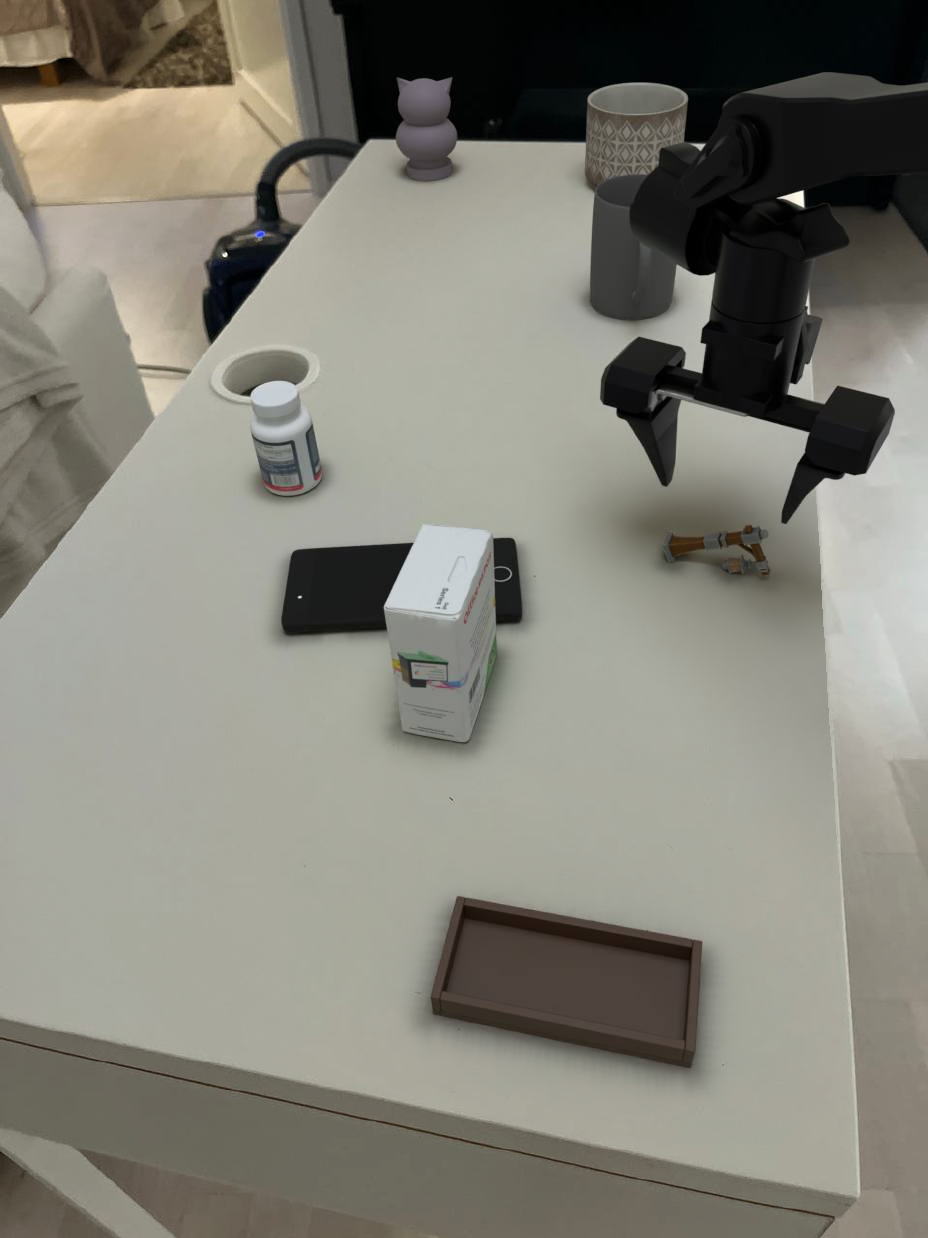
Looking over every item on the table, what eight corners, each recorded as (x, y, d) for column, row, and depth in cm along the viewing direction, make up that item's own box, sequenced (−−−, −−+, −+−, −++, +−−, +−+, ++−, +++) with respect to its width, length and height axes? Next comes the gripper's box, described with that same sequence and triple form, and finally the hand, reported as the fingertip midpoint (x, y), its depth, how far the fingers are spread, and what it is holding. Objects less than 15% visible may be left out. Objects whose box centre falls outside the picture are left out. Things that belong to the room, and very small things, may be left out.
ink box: (434, 643, 72) (421, 517, 64) (499, 654, 71) (495, 527, 63) (398, 732, 66) (379, 606, 58) (469, 745, 65) (460, 618, 57)
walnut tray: (698, 958, 54) (702, 940, 52) (690, 1068, 50) (695, 1052, 48) (458, 913, 57) (456, 895, 55) (432, 1014, 52) (430, 997, 51)
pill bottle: (298, 455, 90) (281, 369, 84) (334, 477, 87) (319, 390, 81) (251, 481, 88) (230, 394, 82) (286, 505, 85) (267, 417, 79)
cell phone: (523, 621, 73) (523, 612, 72) (281, 635, 73) (279, 626, 73) (515, 545, 79) (515, 536, 79) (293, 557, 80) (291, 548, 79)
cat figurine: (392, 181, 137) (383, 87, 128) (407, 161, 142) (399, 69, 134) (452, 184, 135) (446, 88, 127) (464, 162, 140) (460, 70, 132)
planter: (578, 167, 137) (580, 85, 130) (668, 160, 137) (676, 78, 130) (592, 202, 128) (595, 117, 121) (688, 195, 128) (698, 110, 121)
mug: (586, 283, 112) (590, 175, 103) (667, 280, 111) (678, 171, 103) (595, 343, 102) (600, 229, 94) (684, 340, 102) (697, 225, 93)
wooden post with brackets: (778, 580, 74) (762, 531, 71) (678, 587, 78) (660, 542, 76) (783, 565, 75) (768, 516, 73) (684, 573, 80) (667, 528, 77)
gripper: (946, 280, 62) (885, 480, 73) (673, 227, 70) (654, 415, 81) (896, 359, 56) (838, 566, 67) (601, 291, 64) (592, 486, 75)
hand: (724, 501), depth 72 cm, fingers open, 9 cm apart
